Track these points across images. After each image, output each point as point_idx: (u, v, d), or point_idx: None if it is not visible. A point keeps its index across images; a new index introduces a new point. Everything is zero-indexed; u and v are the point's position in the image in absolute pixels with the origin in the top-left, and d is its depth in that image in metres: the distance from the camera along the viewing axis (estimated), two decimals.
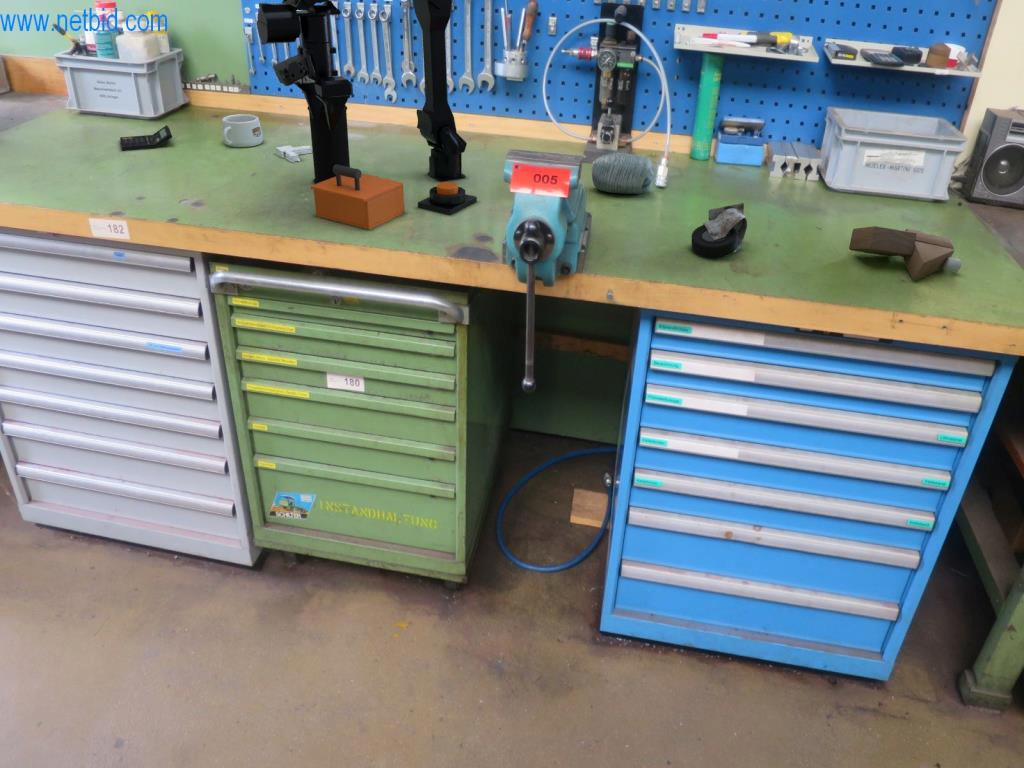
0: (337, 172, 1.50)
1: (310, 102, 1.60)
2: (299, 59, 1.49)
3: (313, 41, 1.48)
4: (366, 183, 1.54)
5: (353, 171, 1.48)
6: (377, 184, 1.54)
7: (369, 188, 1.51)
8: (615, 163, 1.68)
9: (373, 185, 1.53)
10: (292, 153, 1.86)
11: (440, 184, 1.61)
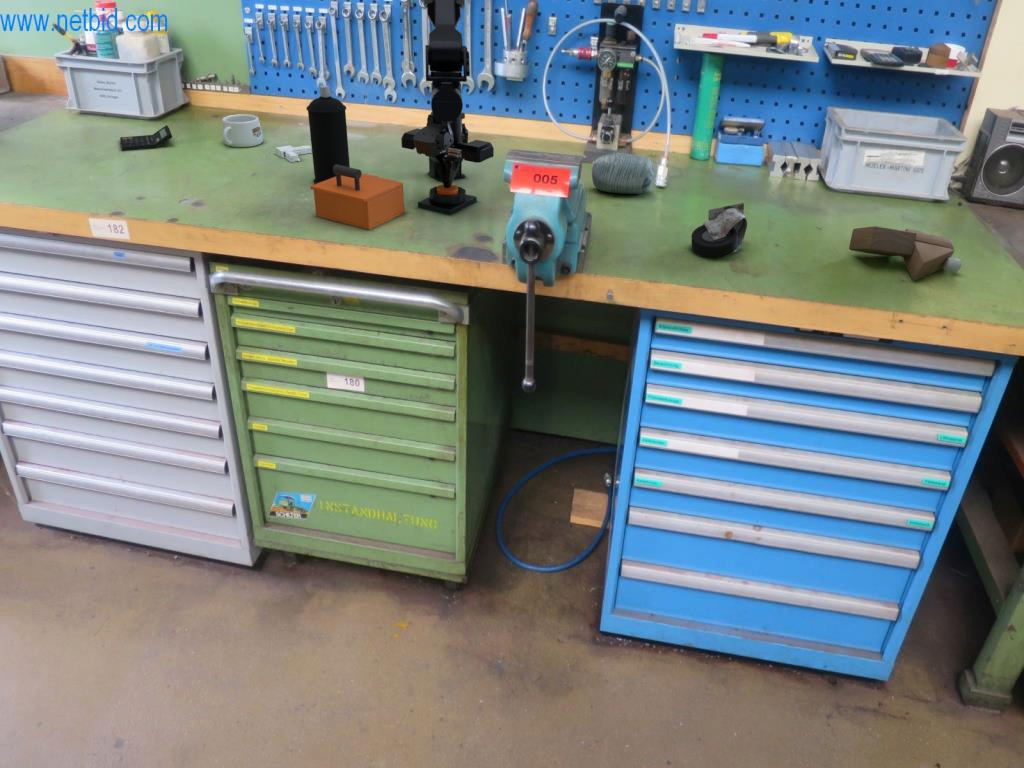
0: (337, 172, 1.50)
1: (444, 171, 1.59)
2: (440, 129, 1.51)
3: None
4: (366, 183, 1.54)
5: (353, 171, 1.48)
6: (377, 184, 1.54)
7: (369, 188, 1.51)
8: (615, 163, 1.68)
9: (373, 185, 1.53)
10: (292, 153, 1.86)
11: (440, 186, 1.62)
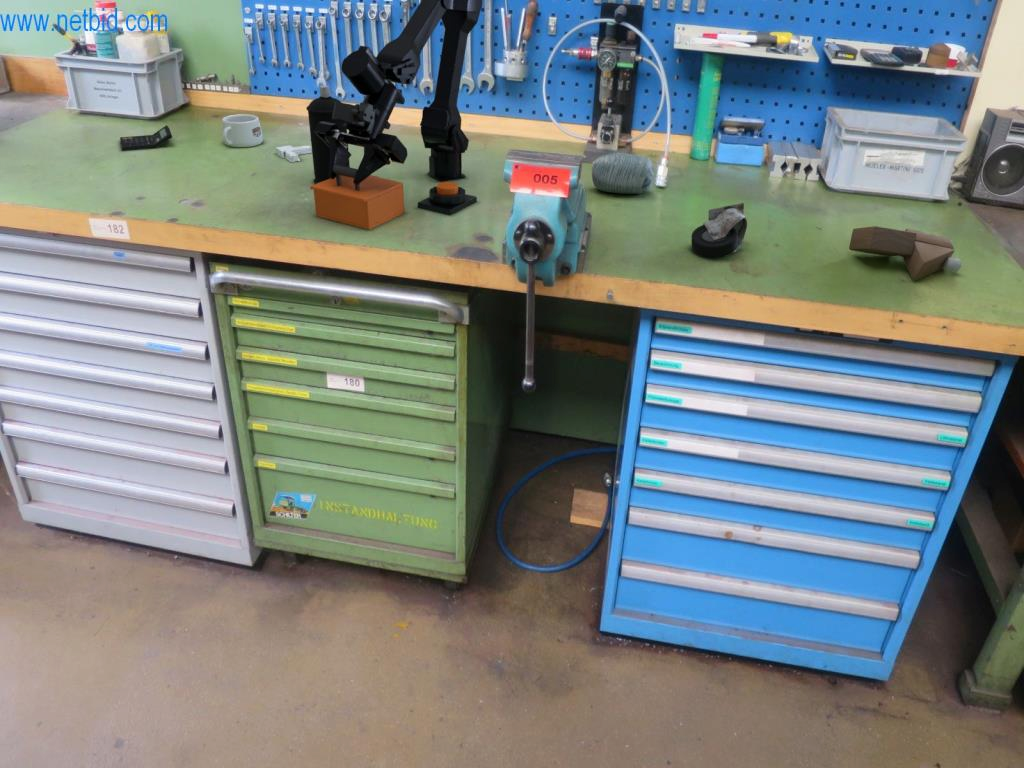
0: (337, 172, 1.50)
1: (336, 160, 1.51)
2: None
3: (382, 105, 1.50)
4: (366, 183, 1.54)
5: (353, 171, 1.48)
6: (377, 184, 1.54)
7: (369, 188, 1.51)
8: (615, 163, 1.68)
9: (373, 185, 1.53)
10: (292, 153, 1.86)
11: (440, 184, 1.61)
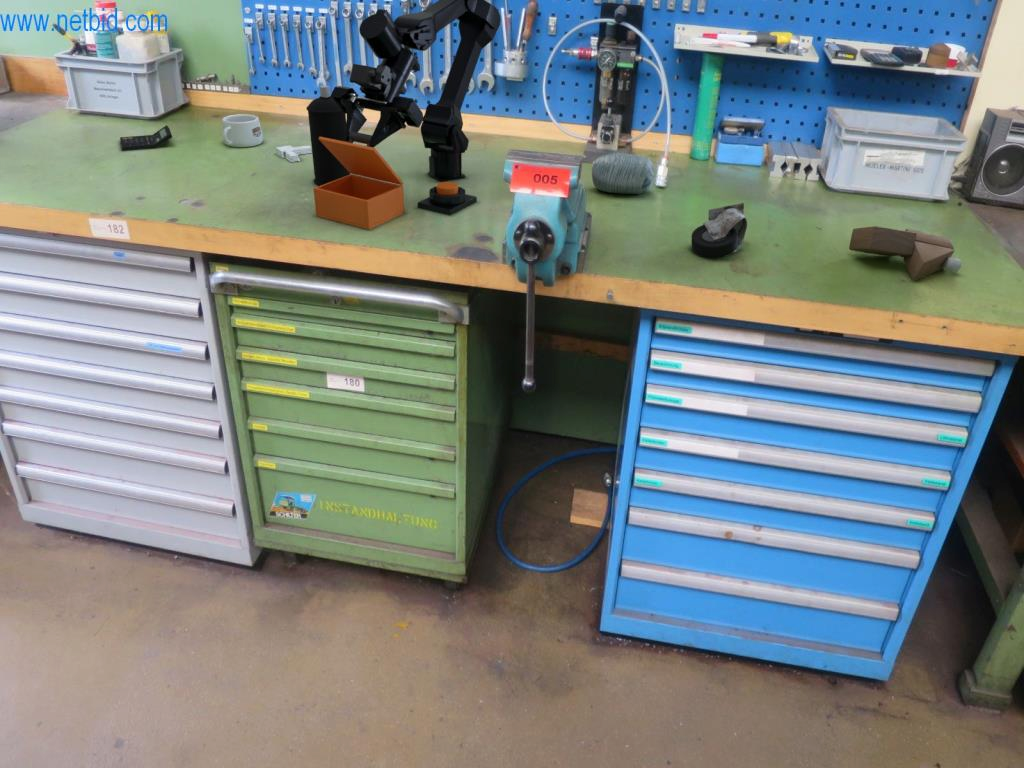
0: (353, 135, 1.51)
1: (352, 123, 1.52)
2: None
3: (399, 69, 1.51)
4: None
5: (371, 135, 1.50)
6: None
7: None
8: (615, 163, 1.68)
9: None
10: (292, 153, 1.86)
11: (440, 184, 1.61)
